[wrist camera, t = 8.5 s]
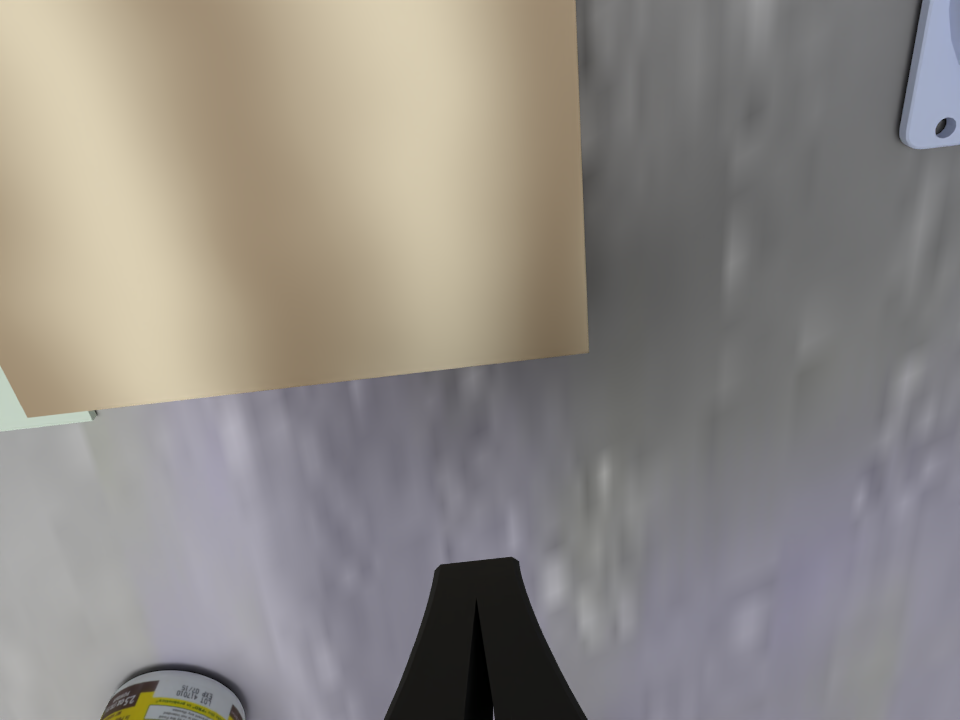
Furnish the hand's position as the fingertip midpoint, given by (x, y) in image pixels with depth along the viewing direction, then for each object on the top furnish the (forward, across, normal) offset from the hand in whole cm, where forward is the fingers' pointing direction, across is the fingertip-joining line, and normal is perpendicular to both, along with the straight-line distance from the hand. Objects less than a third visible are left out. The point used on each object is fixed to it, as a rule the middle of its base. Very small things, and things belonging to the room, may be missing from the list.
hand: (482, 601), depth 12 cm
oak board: (+10, +4, -8) cm, 14 cm away
